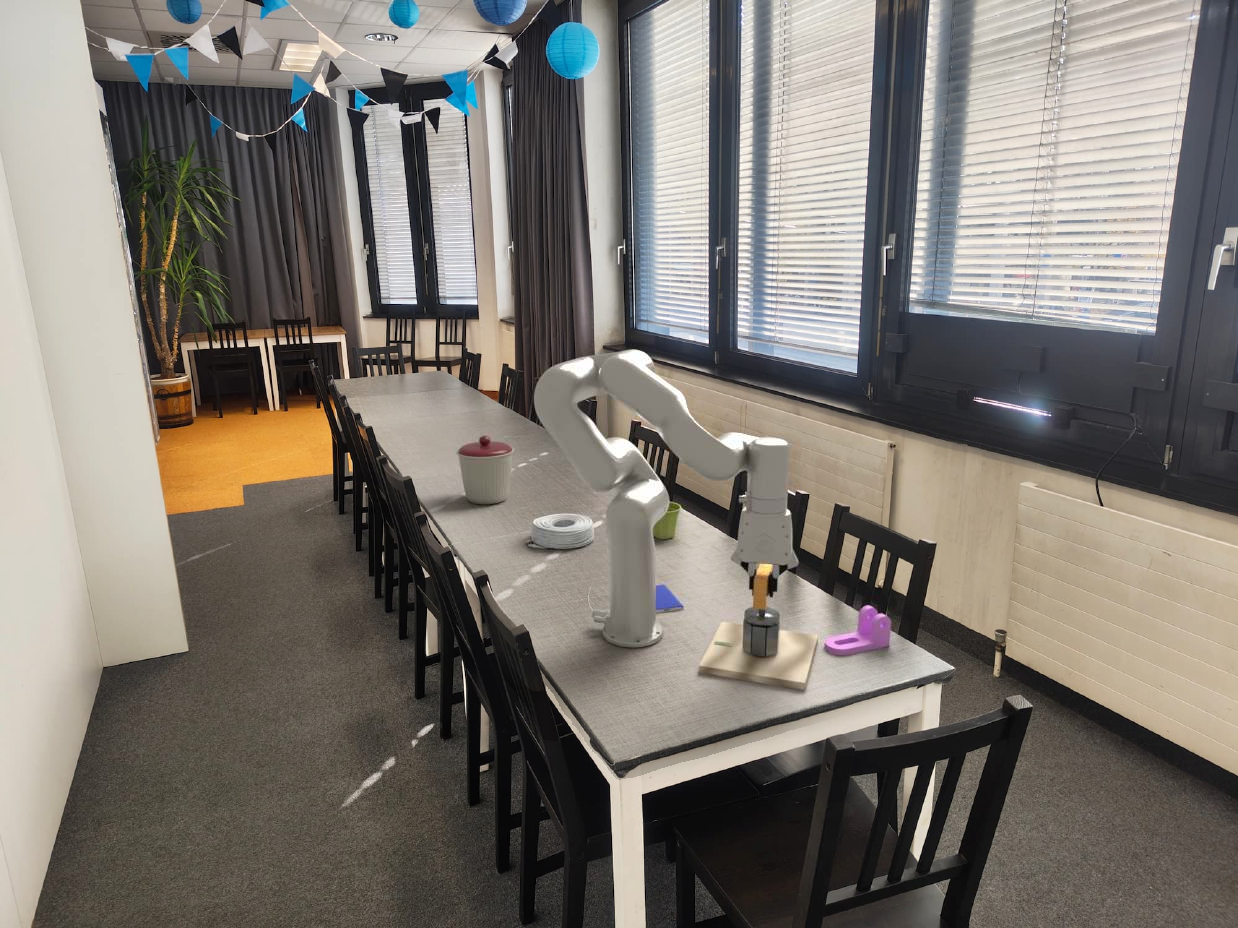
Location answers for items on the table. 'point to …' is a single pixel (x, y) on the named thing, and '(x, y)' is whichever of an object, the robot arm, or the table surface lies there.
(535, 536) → the cable
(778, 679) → the post plate
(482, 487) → the canister
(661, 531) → the plant pot
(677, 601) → the hard drive
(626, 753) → the table surface
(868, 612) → the bracket
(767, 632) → the motor
